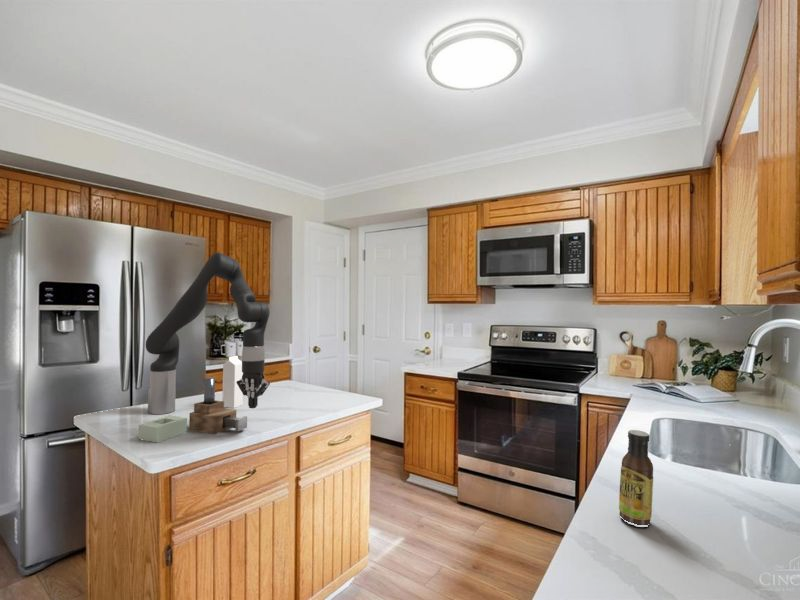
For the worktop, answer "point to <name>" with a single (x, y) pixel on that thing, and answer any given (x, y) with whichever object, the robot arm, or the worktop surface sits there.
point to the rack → (162, 428)
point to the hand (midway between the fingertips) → (252, 407)
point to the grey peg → (209, 390)
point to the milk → (232, 383)
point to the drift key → (235, 422)
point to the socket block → (209, 417)
